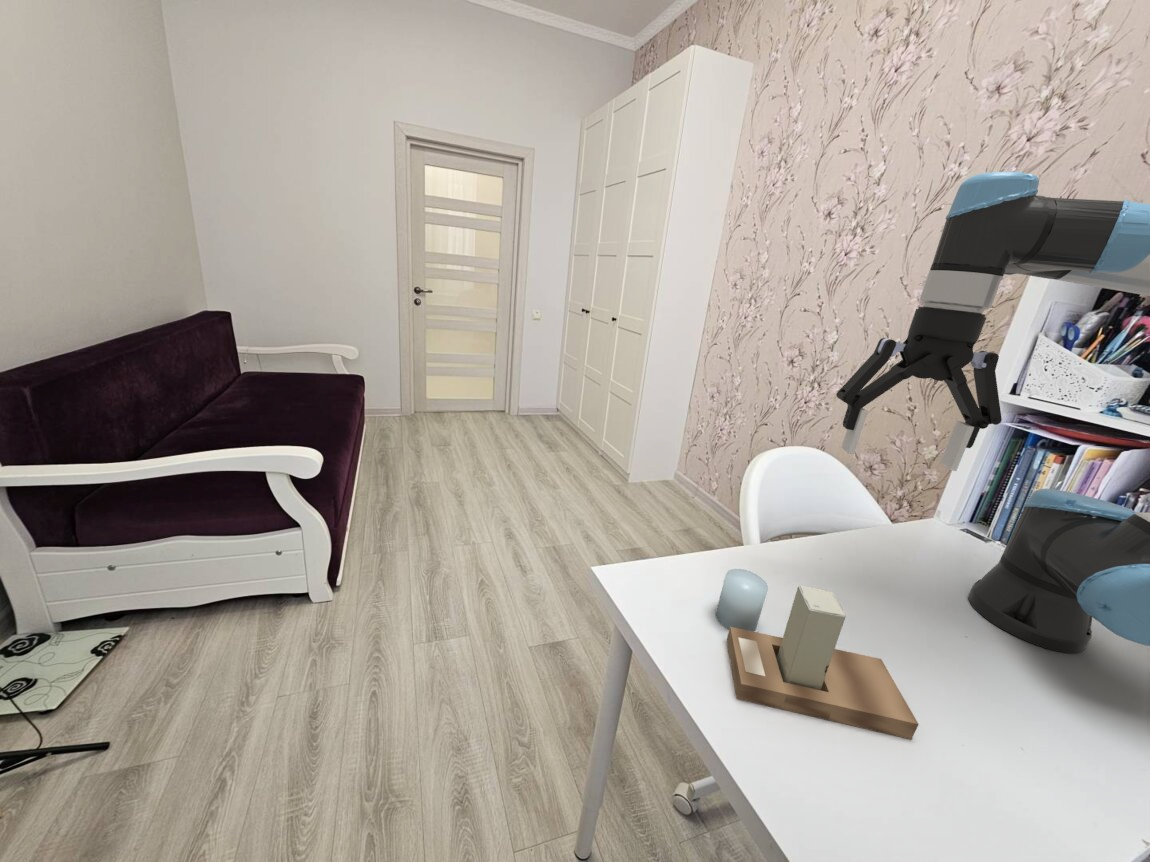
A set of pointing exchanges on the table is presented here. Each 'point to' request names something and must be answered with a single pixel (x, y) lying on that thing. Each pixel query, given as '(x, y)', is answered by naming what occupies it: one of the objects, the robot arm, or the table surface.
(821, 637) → the box
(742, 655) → the brown flat wooden slab
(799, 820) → the table surface
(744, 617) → the pale blue capsule
